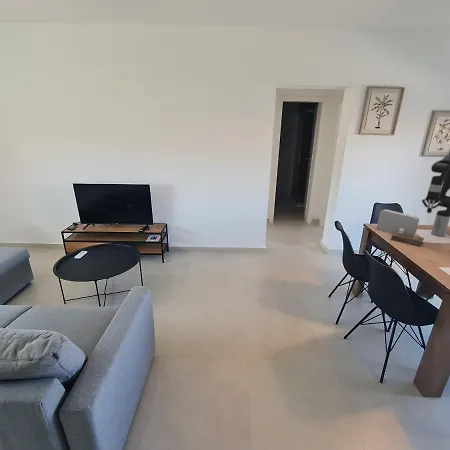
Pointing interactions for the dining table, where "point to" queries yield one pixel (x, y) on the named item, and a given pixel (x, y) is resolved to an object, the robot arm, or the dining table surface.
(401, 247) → the dining table surface
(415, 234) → the block
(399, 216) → the rounded white slab
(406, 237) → the console
